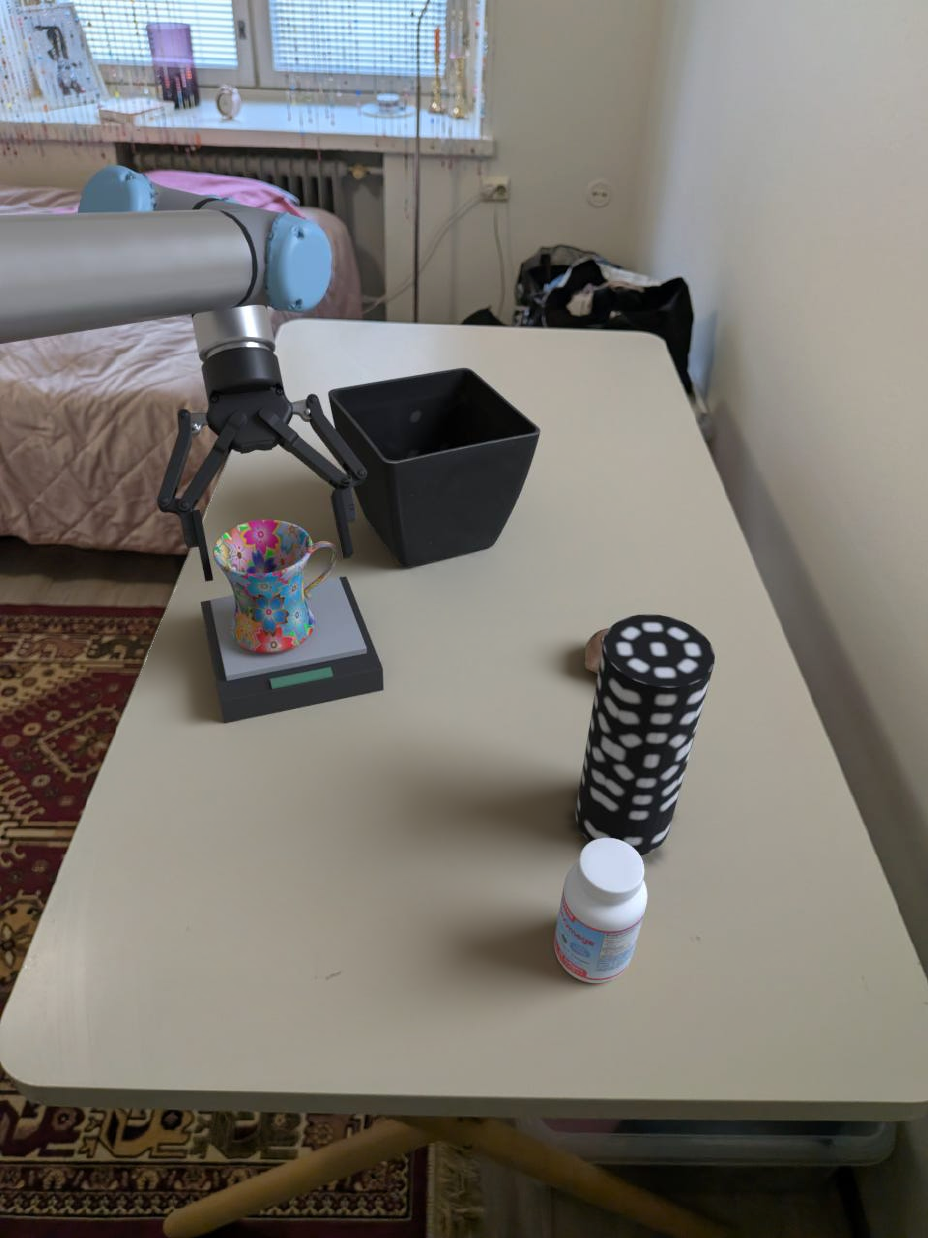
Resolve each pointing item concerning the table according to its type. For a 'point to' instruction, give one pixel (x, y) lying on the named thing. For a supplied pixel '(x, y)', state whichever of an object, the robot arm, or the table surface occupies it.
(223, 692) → the scale
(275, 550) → the mug
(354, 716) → the table surface
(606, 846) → the pill bottle
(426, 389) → the flower pot
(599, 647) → the oil lamp
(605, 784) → the spotted tube
